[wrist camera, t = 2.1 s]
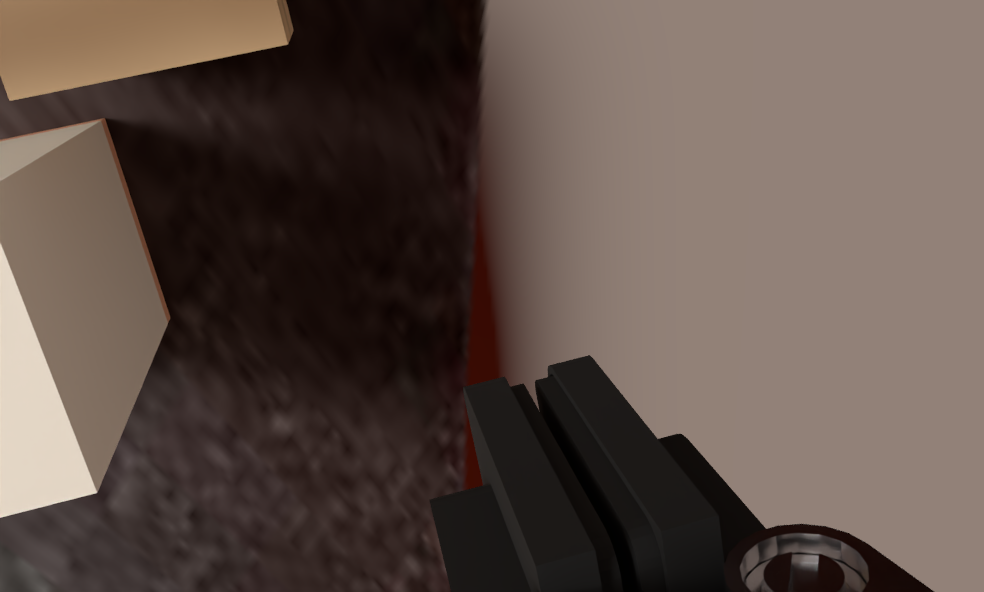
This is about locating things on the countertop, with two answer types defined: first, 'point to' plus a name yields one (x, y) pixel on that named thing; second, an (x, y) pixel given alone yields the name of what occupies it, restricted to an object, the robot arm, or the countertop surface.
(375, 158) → the countertop surface
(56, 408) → the cream block
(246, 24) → the oak block
